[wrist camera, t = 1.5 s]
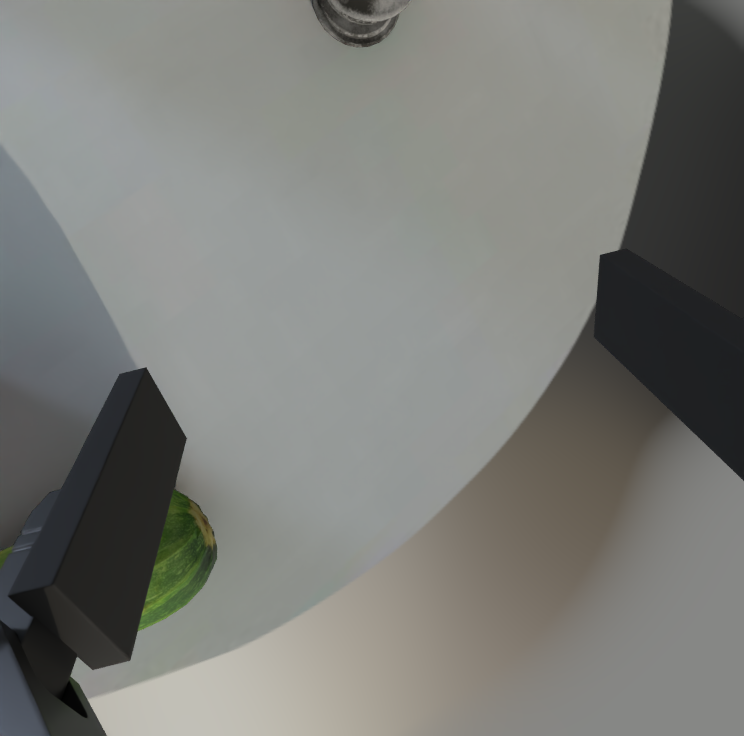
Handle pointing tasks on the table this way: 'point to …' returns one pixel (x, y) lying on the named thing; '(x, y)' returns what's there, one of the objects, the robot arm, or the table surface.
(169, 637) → the table surface
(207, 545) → the vegetable
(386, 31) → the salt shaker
